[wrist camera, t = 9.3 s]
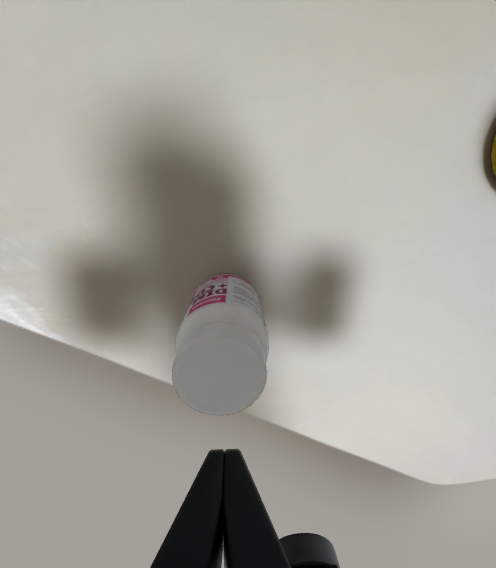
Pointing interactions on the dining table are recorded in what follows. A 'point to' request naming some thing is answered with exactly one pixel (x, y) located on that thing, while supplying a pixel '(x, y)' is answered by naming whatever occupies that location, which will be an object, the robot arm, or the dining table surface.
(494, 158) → the bottle
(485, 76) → the dining table surface
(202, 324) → the pill bottle
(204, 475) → the robot arm
